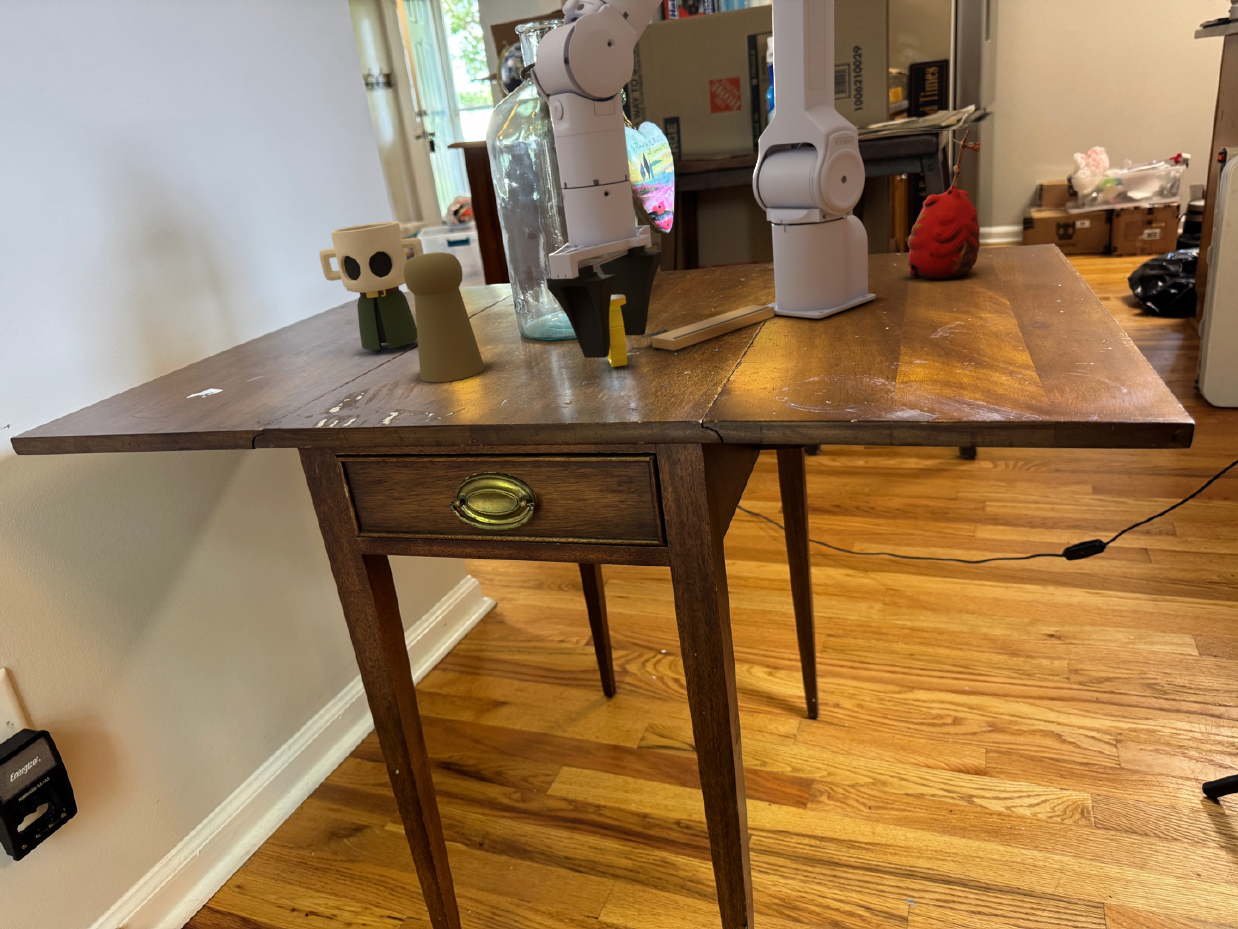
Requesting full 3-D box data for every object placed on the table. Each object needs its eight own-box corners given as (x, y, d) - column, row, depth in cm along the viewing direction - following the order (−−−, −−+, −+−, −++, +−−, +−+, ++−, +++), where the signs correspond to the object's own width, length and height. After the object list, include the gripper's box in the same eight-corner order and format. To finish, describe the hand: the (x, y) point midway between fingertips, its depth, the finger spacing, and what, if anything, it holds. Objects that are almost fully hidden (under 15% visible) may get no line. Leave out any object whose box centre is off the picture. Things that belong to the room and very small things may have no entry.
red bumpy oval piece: (945, 266, 98) (949, 128, 92) (994, 272, 92) (1001, 124, 86) (894, 278, 95) (894, 136, 90) (941, 285, 89) (944, 133, 83)
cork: (471, 380, 76) (447, 256, 72) (409, 384, 77) (383, 262, 73) (493, 361, 81) (472, 245, 77) (435, 365, 83) (412, 251, 79)
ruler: (752, 314, 87) (751, 303, 87) (774, 316, 85) (774, 306, 85) (652, 347, 79) (651, 336, 79) (674, 351, 77) (673, 339, 77)
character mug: (334, 361, 90) (302, 237, 85) (352, 345, 96) (324, 229, 92) (435, 349, 90) (409, 223, 85) (446, 334, 96) (423, 216, 91)
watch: (637, 370, 72) (629, 301, 70) (605, 374, 72) (596, 305, 70) (628, 353, 78) (621, 289, 76) (599, 358, 78) (590, 293, 76)
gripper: (596, 190, 62) (618, 369, 67) (675, 170, 73) (689, 324, 78) (516, 198, 65) (543, 368, 70) (604, 177, 77) (622, 324, 82)
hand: (615, 345), depth 74 cm, fingers open, 7 cm apart
